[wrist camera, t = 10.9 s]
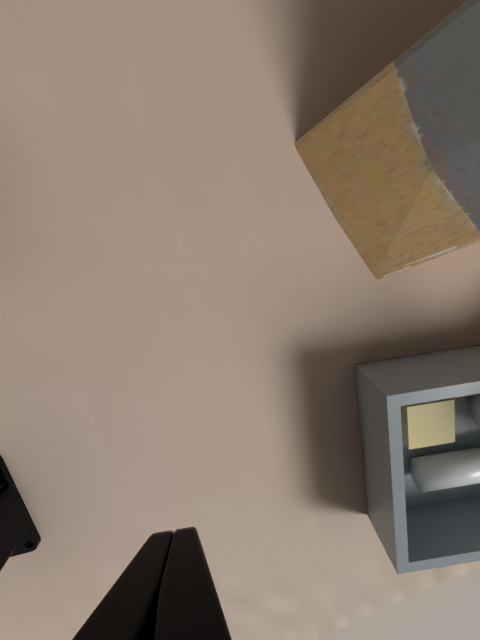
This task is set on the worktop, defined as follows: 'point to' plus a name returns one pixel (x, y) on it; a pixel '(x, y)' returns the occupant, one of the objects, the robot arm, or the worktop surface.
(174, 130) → the worktop surface
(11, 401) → the worktop surface
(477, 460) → the parts tub
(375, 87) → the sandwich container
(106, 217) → the worktop surface
